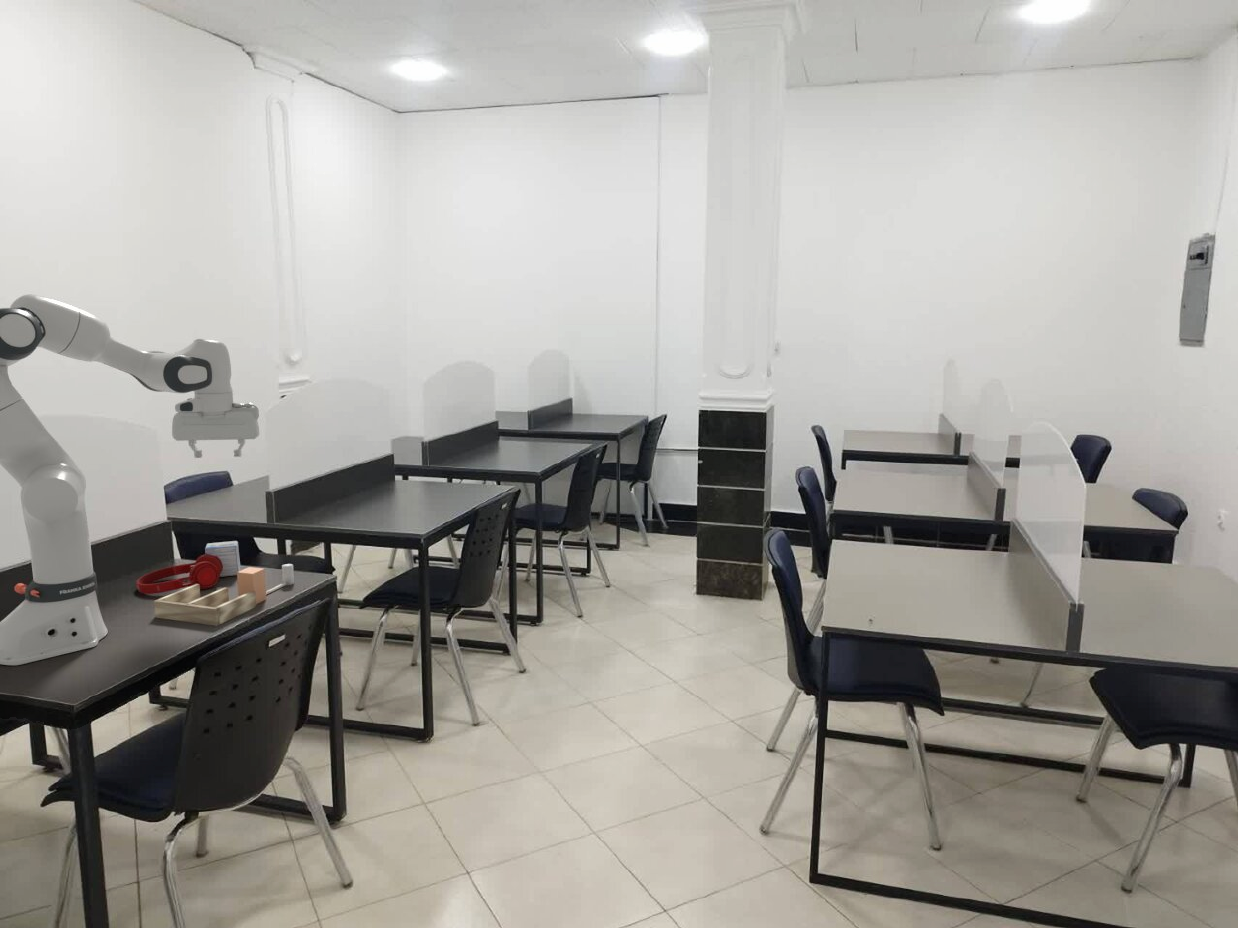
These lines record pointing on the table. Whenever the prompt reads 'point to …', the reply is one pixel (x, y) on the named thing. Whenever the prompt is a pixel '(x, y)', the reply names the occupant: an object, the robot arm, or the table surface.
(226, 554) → the medicine box
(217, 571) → the headphones
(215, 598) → the lane shelf
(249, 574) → the block
